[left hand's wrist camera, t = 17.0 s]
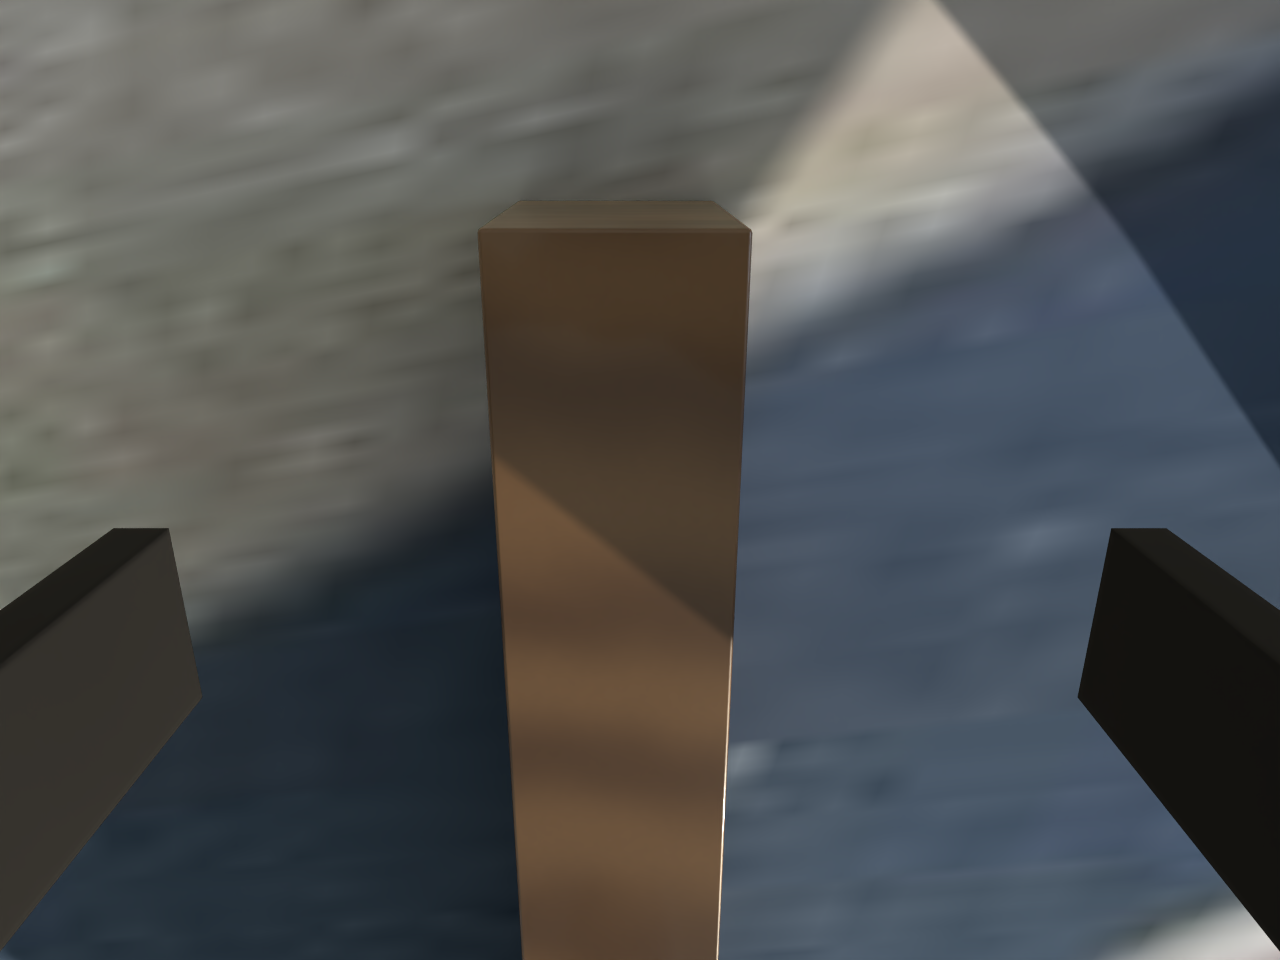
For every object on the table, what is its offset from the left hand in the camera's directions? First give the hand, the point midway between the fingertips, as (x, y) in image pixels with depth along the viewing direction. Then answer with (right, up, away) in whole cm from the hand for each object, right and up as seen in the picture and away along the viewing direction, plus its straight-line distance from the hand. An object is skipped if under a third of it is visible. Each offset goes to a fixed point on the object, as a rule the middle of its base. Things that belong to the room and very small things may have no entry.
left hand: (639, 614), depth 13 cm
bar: (-1, -18, +24) cm, 30 cm away
